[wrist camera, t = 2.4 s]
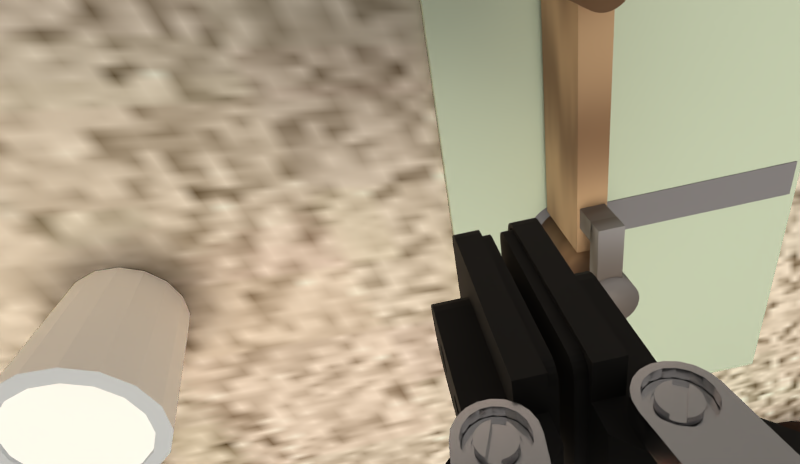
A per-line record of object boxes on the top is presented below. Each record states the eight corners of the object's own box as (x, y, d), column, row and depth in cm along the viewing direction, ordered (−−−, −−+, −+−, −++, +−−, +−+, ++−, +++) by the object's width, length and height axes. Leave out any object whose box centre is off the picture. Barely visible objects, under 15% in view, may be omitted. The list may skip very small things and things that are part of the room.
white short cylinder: (233, 314, 27) (211, 430, 22) (143, 387, 29) (100, 513, 23) (111, 228, 24) (45, 339, 18) (18, 316, 26) (-70, 443, 20)
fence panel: (525, -57, 20) (590, -40, 15) (586, -70, 20) (669, -56, 15) (538, 255, 27) (584, 331, 22) (582, 245, 27) (637, 319, 22)
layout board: (412, -49, 20) (414, -48, 20) (868, -143, 20) (878, -143, 20) (478, 418, 34) (480, 425, 34) (747, 359, 34) (752, 364, 34)
